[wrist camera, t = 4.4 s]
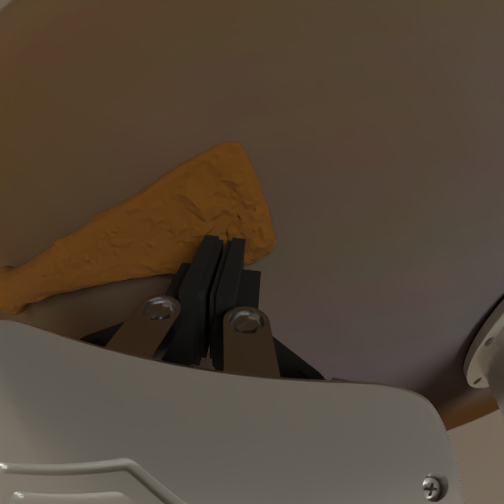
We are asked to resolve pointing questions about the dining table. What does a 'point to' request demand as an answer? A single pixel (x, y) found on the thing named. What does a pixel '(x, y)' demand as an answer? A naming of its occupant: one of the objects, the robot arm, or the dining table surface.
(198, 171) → the primitive tool
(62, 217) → the dining table surface
